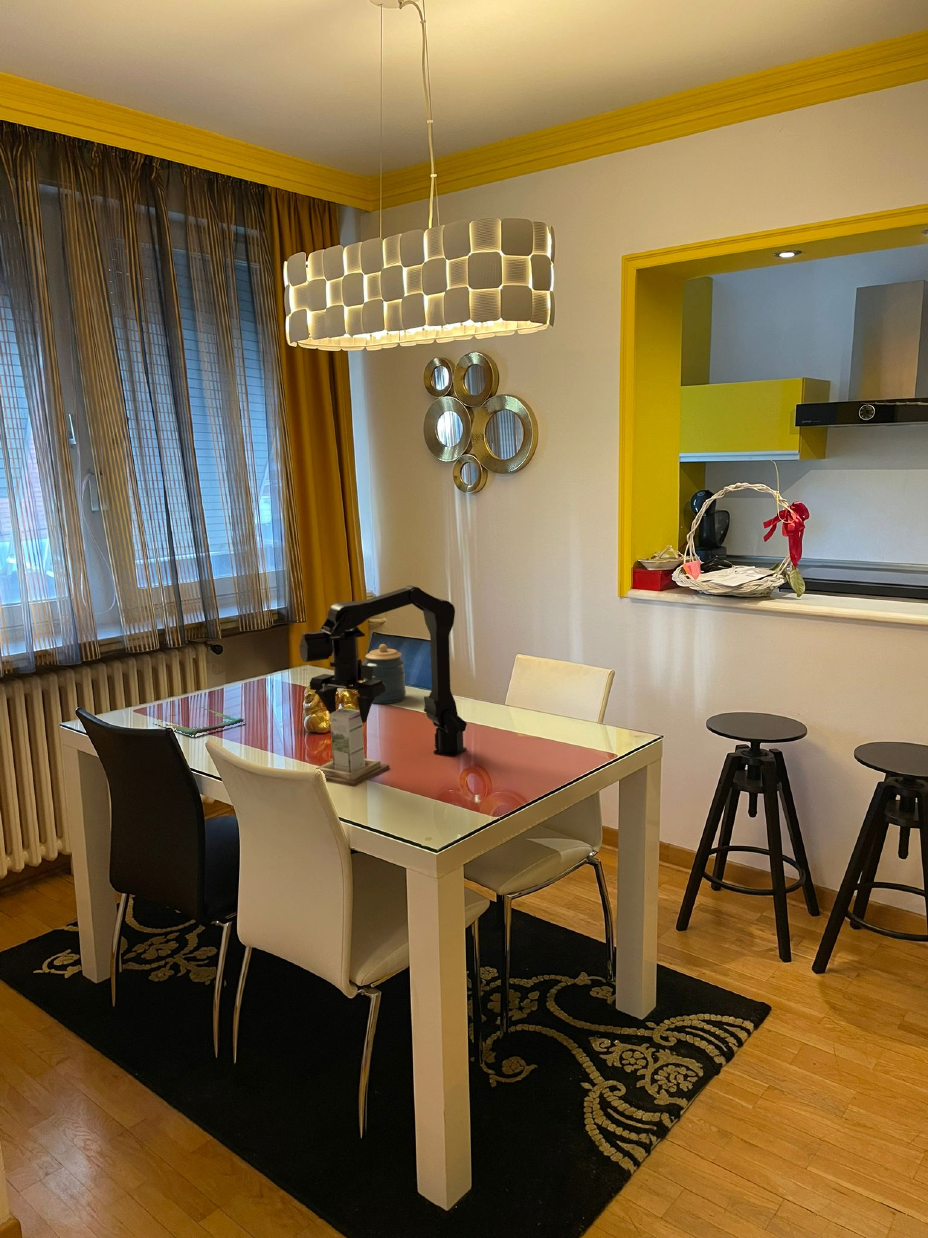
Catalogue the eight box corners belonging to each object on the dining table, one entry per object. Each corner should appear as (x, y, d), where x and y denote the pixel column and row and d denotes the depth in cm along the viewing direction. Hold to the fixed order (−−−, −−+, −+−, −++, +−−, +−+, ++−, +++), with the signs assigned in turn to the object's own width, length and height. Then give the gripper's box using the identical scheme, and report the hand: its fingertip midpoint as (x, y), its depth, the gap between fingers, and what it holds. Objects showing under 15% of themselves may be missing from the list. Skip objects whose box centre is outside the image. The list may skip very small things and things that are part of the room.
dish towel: (193, 740, 253) (192, 732, 252) (151, 725, 269) (150, 717, 268) (246, 726, 265) (245, 718, 265) (203, 712, 281) (202, 704, 281)
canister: (390, 691, 297) (388, 638, 294) (414, 699, 287) (412, 643, 284) (356, 699, 289) (354, 644, 286) (380, 707, 279) (377, 650, 276)
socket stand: (389, 768, 224) (389, 760, 224) (354, 786, 212) (353, 778, 212) (343, 759, 231) (343, 752, 231) (307, 777, 219) (307, 769, 219)
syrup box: (366, 767, 222) (363, 709, 220) (350, 775, 217) (347, 716, 215) (347, 764, 225) (344, 707, 223) (332, 771, 220) (328, 713, 218)
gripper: (397, 653, 219) (399, 715, 222) (335, 647, 229) (339, 707, 232) (369, 662, 210) (372, 728, 213) (306, 656, 219) (310, 718, 222)
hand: (348, 720), depth 220 cm, fingers open, 9 cm apart
